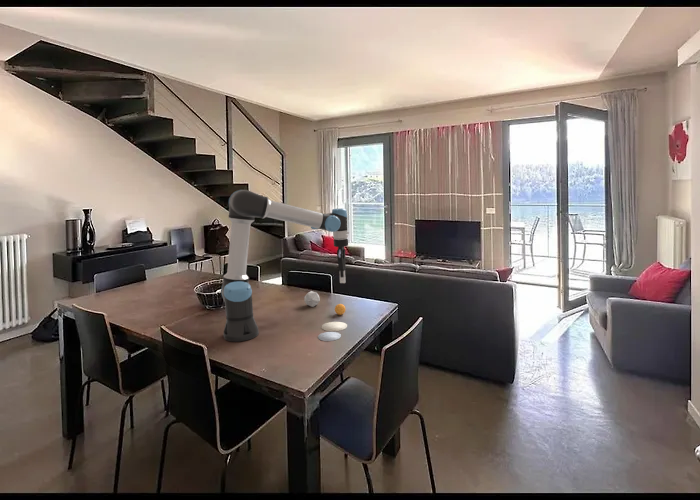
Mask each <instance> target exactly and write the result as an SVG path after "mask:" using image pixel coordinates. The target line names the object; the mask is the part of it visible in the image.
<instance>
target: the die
mask: <svg viewBox="0 0 700 500" xmlns="http://www.w3.org/2000/svg"><path fill="white" fill-rule="evenodd" d="M320 302H321V300H320V295H319V294H318V292H317V291H314V290H313V291H312V290H310V291H309V292H307V293H306V294H305V295H304V303H305V304H306V306H308V307H311V308H314V307H315V306H317V305H318V304H319V303H320Z"/></svg>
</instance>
